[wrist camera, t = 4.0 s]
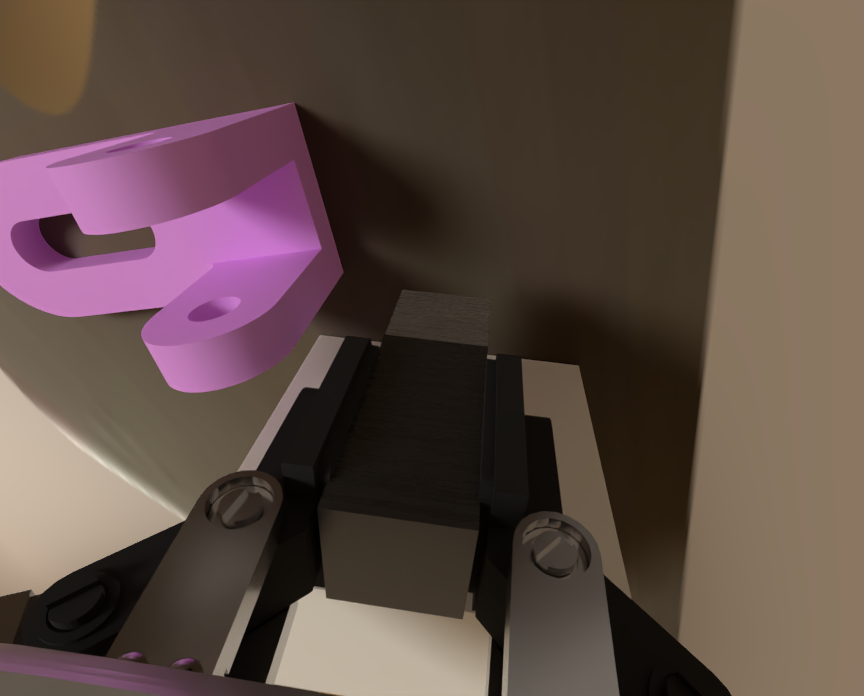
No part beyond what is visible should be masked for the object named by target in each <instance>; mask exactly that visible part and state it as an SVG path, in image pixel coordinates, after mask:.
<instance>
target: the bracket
mask: <svg viewBox="0 0 864 696" xmlns="http://www.w3.org/2000/svg"><path fill="white" fill-rule="evenodd" d="M69 213H72V215H73V217H74V218H75V220H76V222H77V224H78V225H79V227H80V229H81V231H82V232H83V233H84V234H88V235H101V234H111V233H118V232H124V231H130V230H134V229H139V228H144V227H148V226H151V228H152V230H153V232H154V235H155V240H156V246H155V247H152V248H145V249H138V250H131V251H124V252H117V253H110V254H103V255H96V256H89V257H82V258H69V257H66V256H63V255H61V254H60V253H58V252H56V251H55V250H54V249H53V248H51V247H50V246H49V245H48V243H47V242H46V241H45V239H44V238H43V236H42V234H41V232H40V228H39V219H40V218H45V217H51V216H57V215H63V214H69ZM343 273H344V272H343V269H342V265H341V262H340V258H339V255H338V251H337V248H336V244H335V241H334V238H333V234H332V231H331V227H330V224H329V220H328V217H327V213H326V210H325V207H324V203H323V200H322V196H321V193H320V189H319V186H318V183H317V179H316V176H315V172H314V169H313V165H312V162H311V158H310V155H309V152H308V148H307V145H306V141H305V138H304V134H303V131H302V127H301V124H300V121H299V117H298V114H297V110H296V107H295V103H289V104H284V105H279V106H274V107H269V108H264V109H259V110H254V111H249V112H244V113H239V114H233V115H228V116H223V117H218V118H213V119H208V120H203V121H198V122H193V123H188V124H182V125H177V126H172V127H167V128H162V129H157V130H152V131H147V132H142V133H137V134H132V135H126V136H121V137H116V138H111V139H106V140H101V141H96V142H91V143H86V144H81V145H75V146H70V147H65V148H60V149H55V150H50V151H45V152H40V153H35V154H30V155H25V156H19V157H15V158H12V159H8V160H4V161H0V285H1V286H2V287H3V288H4V289H5V290H7V291H8V292H9V293H11V294H12V295H14V296H15V297H17V298H18V299H20V300H22V301H23V302H25V303H27V304H29V305H31V306H33V307H35V308H37V309H40V310H42V311H45V312H48V313H51V314H55V315H59V316H66V317H81V316H90V315H99V314H108V313H116V312H125V311H134V310H142V309H151V308H160V307H164V308H163V309H161V310H160V311H159V312H158V313H157V314H155V315H154V316H153V317H152V318H151V319H150V320H149V321H148V322H147V323H146V324H145V326H144V327H143V329H142V332H141V336H142V339H143V341H144V342H145V344H146V346H147V348H148V350H149V351H150V353H151V355H152V357H153V358H154V360H155V362H156V364H157V365H158V367H159V369H160V371H161V373H162V374H163V376H164V378H165V380H166V381H167V383H168V385H169V386H171V387H172V388H174V389H176V390H178V391H183V392H207V391H213V390H218V389H223V388H226V387H230V386H233V385H236V384H239V383H242V382H244V381H247V380H249V379H251V378H253V377H255V376H258V375H260V374H261V373H263V372H265V371H267V370H268V369H270V368H272V367H273V366H275V365H276V364H277V363H279V362H280V361H281V360H283V359H284V358H285V357H286V356H287V355H288V354H289V353H290V352H291V351H292V350H293V348H294V347H295V345H296V344H297V342H298V341H299V339H300V338H301V336H302V335H303V333H304V332H305V330H306V329H307V327H308V326H309V324H310V323H311V321H312V320H313V318H314V317H315V315H316V314H317V312H318V311H319V309H320V307H321V306H322V304H323V303H324V301H325V300H326V298H327V297H328V295H329V294H330V292H331V291H332V289H333V288H334V286H335V285H336V283H337V282H338V280H339V279H340V277H341V276H342V274H343Z"/></svg>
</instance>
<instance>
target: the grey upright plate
mask: <svg viewBox="0 0 864 696" xmlns="http://www.w3.org/2000/svg"><path fill="white" fill-rule="evenodd" d="M489 311H490V299H485V298H476V297H467V296H458V295H449V294H440V293H431V292H422V291H413V290H404V289H402V292H401V294H400V297H399V300H398V302H397V305H396V307H395V310H394V312H393V315H392V317H391V320H390V323H389V325H388V328H387V330H386V333H385V335H384V338H383V340H382V343H381V346H380V348H379V349H380V352H379V354H378V357H377V360H376V362H375V365H374V367H373V370H372V372H371V375H370V378H369V380H368V383H367V385H366V388H365V391H364V393H363V396H362V398H361V401H360V404H359V406H358V409H357V411H356V414H355V417H354V419H353V422H352V424H351V427H350V429H349V432H348V435H347V437H346V440H345V442H344V445H343V448H342V450H341V453H340V455H339V458H338V461H337V463H336V466H335V468H334V471H333V474H332V476H331V479H330V481H327V484H326V486H325V489H324V491H323V494H322V497H321V499H320V502H319V504H318V507H317V512H318V522H319V532H320V542H321V552H322V562H323V572H324V582H325V592H326V598H328V599H334V600H340V601H347V602H353V603H360V604H366V605H373V606H379V607H386V608H392V609H398V610H405V611H411V612H418V613H424V614H431V615H437V616H443V617H450V618H456V619H463V616H464V611H465V605H466V599H467V594H468V588H469V583H470V577H471V571H472V566H473V560H474V555H475V549H476V544H477V538H478V532H479V516H480V502H479V483H480V464H481V446H482V427H483V409H484V390H485V371H486V361H487V352H488V332H489Z"/></svg>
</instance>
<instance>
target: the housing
mask: <svg viewBox="0 0 864 696" xmlns="http://www.w3.org/2000/svg"><path fill="white" fill-rule="evenodd" d="M344 339H345V338H342V337H333V336H325V335H320V336H319V337H318V339H317V341H316V342H315V344H314V346H313V347H312V349H311V351H310V352H309V354H308V356H307V357H306V359H305V361H304V362H303V364H302V366H301V367H300V369H299V371H298V372H297V374H296V375H295V377H294V379H293V380H292V382H291V384H290V385H289V387H288V389H287V390H286V392H285V394H284V395H283V397H282V399H281V400H280V402H279V404H278V405H277V407H276V409H275V410H274V412H273V414H272V415H271V417H270V419H269V420H268V422H267V423H266V425H265V427H264V428H263V430H262V432H261V433H260V435H259V437H258V438H257V440H256V442H255V443H254V445H253V447H252V448H251V450H250V452H249V453H248V455H247V457H246V458H245V460H244V462H243V463H242V465H241V467H240V468H239V470H238V471H237V472H239V471H243V470H256V469H257V467H258V466H259V464H260V462H261V460H262V459H263V457H264V455H265V453H266V451H267V450H268V448H269V446H270V444H271V443H272V441H273V439H274V437H275V435H276V434H277V432H278V430H279V428H280V427H281V425H282V423H283V421H284V419H285V418H286V416H287V414H288V412H289V411H290V409H291V407H292V405H293V404H294V402H295V400H296V398H297V396H298V395H299V393H300V392H301V390H302V389H303V388H305V387H310V388H318V389H319V387H320V385H321V383H322V381H323V379H324V377H325V376H326V374H327V372H328V370H329V368H330V366H331V364H332V362H333V360H334V358H335V356H336V354H337V352H338V350H339V348H340V346H341V345H342V343H343V341H344ZM381 343H382V342H376V341H372V345H376V346H379V348H380V346H381ZM487 359H493V360H496V356H494V355H487ZM522 376H523V395H524V413H525V415H531V416H539V417H547V418H550V419H551V422H552V429H553V437H554V445H555V453H556V461H557V469H558V478H559V486H560V494H561V502H562V510H563V515H567V516H569V517H571V518H573V519H574V520H576V521H578V522H580V523H581V524H582V525H583V526H584V527H585V528H586V529H587V530H588V531H589V532H590V533H591V534H592V536H593V537H594V539H595V540H596V542H597V544H598V547H599V550H600V554H601V559H602V567H603V574H604V575H605V576H606V577H607V578H608V579H609V580H610V581H612V582H613V583H614V584H615V585H616V586H617V587H618V588H619V589H620V590H622V591H623V592H624V593H625V594H626V595H627V596H628V597H629V598H630V599H631V594H630V590H629V586H628V581H627V577H626V572H625V568H624V563H623V559H622V555H621V550H620V546H619V541H618V537H617V533H616V528H615V524H614V519H613V515H612V510H611V506H610V502H609V497H608V493H607V488H606V484H605V480H604V475H603V471H602V466H601V462H600V457H599V453H598V449H597V444H596V440H595V435H594V431H593V427H592V422H591V418H590V413H589V409H588V404H587V400H586V396H585V391H584V387H583V382H582V378H581V373H580V369H579V365H570V364H562V363H553V362H545V361H536V360H528V359H522ZM472 597H473V593H469V592H468V594H467V599H466V605H465V611H464V616H463V619H456V618H450V617H443V616H437V615H431V614H424V613H418V612H411V611H405V610H398V609H392V608H386V607H379V606H373V605H366V604H360V603H353V602H347V601H340V600H334V599H328V598H326V592H325V588H322V587H316V586H314V588H313V591H312V592H311V593H309V594H308V595H306V596H304V597H303V598H301V599H299V600H298V607H297V611H296V614H295V617H294V621H293V624H292V627H291V630H290V634H289V637H288V640H287V643H286V647H285V650H284V653H283V656H282V660H281V663H280V666H279V669H278V673H277V676H276V679H275V683H274V684H278V685H284V686H290V687H296V688H301V689H307V690H313V691H319V692H325V693H331V694H337V695H343V696H485V686H486V672H487V658H488V644H489V636H490V634H489V633H488V632H487V631H486V629H485V628H484V627H483V626H482V624H481V623H480V622H479V621H478V620H477V618H476V617H475V611H472ZM631 600H632V599H631Z"/></svg>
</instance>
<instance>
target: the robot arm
mask: <svg viewBox="0 0 864 696" xmlns="http://www.w3.org/2000/svg"><path fill="white" fill-rule="evenodd" d="M379 352H380V349H379V346H376V345H372V341H371V339H370V338H361V337H353V336H346V337H345V339H344V341H343V343H342V345H341V346H340V348H339V350H338V352H337V354H336V356H335V358H334V360H333V362H332V364H331V366H330V368H329V370H328V372H327V374H326V376H325V377H324V379H323V381H322V383H321V385H320V387H319V389H318V388H310V387H305V388H303V389H302V390H301V392H300V393H299V395H298V396H297V398H296V400H295V402H294V404H293V405H292V407H291V409H290V411H289V412H288V414H287V416H286V418H285V419H284V421H283V423H282V425H281V427H280V428H279V430H278V432H277V434H276V435H275V437H274V439H273V441H272V443H271V444H270V446H269V448H268V450H267V451H266V453H265V455H264V457H263V459H262V460H261V462H260V464H259V466H258V467H257V469H256V470H243V471H239V472H234V473H230V474H228V475H226V476H224V477H222V478H219V479H217V480H216V481H215V482H213V483H212V484H211V485H209V486H208V487H207V488H206V489H205V490H204V492H203V493H202V494H201V495H200V497H199V498H198V500H197V502H196V503H195V505H194V507H193V508H192V510H191V512H190V513H189V515H188V517H187V519H186V520H185V521H183V522H181V523H179V524H177V525H175V526H173V527H170V528H168V529H166V530H164V531H162V532H159V533H157V534H155V535H153V536H151V537H149V538H146V539H144V540H142V541H140V542H138V543H135V544H133V545H131V546H129V547H127V548H125V549H122V550H120V551H118V552H116V553H114V554H111V555H110V556H107V557H105V558H103V559H101V560H98V561H96V562H94V563H92V564H90V565H88V566H85V567H83V568H81V569H79V570H77V571H75V572H73V573H71V574H69V575H67V576H66V577H64V578H62V579H60V580H58V581H57V582H56V583H54V584H53V585H52V586H51V587H50V588H48V589H47V590H46V591H45V592H44V593H42V594H40V595H35V594H34V593H33V591H32V590H27V591H23V592H19V593H15V594H10V595H6V596H1V597H0V696H336V695H331V694H325V693H318V692H313V691H307V690H301V689H295V688H289V687H283V686H277V685H274V683H275V679H276V676H277V673H278V669H279V666H280V663H281V660H282V656H283V653H284V650H285V647H286V643H287V640H288V637H289V634H290V630H291V627H292V624H293V621H294V617H295V614H296V611H297V607H298V600H299V599H301V598H303V597H304V596H306V595H308V594H309V593H311V592H312V591H313V588H314V586H316V587H322V588H325V582H324V572H323V562H322V552H321V542H320V532H319V522H318V512H317V507H318V504H319V502H320V499H321V497H322V494H323V491H324V489H325V486H326V484H327V481H330V479H331V476H332V474H333V471H334V468H335V466H336V463H337V461H338V458H339V455H340V453H341V450H342V448H343V445H344V442H345V440H346V437H347V435H348V432H349V429H350V427H351V424H352V422H353V419H354V417H355V414H356V411H357V409H358V406H359V404H360V401H361V398H362V396H363V393H364V391H365V388H366V385H367V383H368V380H369V378H370V375H371V372H372V370H373V367H374V365H375V362H376V360H377V357H378V354H379ZM479 502H480V516H479V532H478V538H477V544H476V549H475V555H474V560H473V566H472V571H471V577H470V583H469V588H468V592H469V593H473V597H472V611H475V617H476V618H477V620H478V621H479V622H480V623H481V624H482V626H483V627H484V628H485V629H486V631H487V632H488V633H489V634H490V636H489V644H488V658H487V672H486V686H485V696H731V694H730V692H729V691H728V689H727V688H726V687H725V686H724V685H723V684H722V682H720V680H719V679H718V678H717V677H716V676H715V675H714V674H713V673H712V672H711V671H710V670H709V669H708V668H707V667H706V666H704V665H703V664H702V663H701V662H700V661H699V660H698V659H697V658H696V657H694V656H693V655H692V654H691V653H690V652H689V651H688V650H687V649H686V648H684V647H683V646H682V645H681V644H680V643H679V642H678V641H677V640H676V639H675V638H674V637H672V636H671V635H670V634H669V633H668V632H667V631H666V630H665V629H664V628H662V627H661V626H660V625H659V624H658V623H657V622H656V621H655V620H654V619H652V618H651V617H650V616H649V615H648V614H647V613H646V612H645V611H644V610H643V609H641V608H640V607H639V606H638V605H637V604H636V603H635V602H634V601H633V600H631V599H630V598H629V597H628V596H627V595H626V594H625V593H624V592H623V591H622V590H620V589H619V588H618V587H617V586H616V585H615V584H614V583H613V582H612V581H610V580H609V579H608V578H607V577H606V576H605V575H604V574H603V567H602V559H601V554H600V550H599V547H598V544H597V542H596V540H595V539H594V537H593V536H592V534H591V533H590V532H589V531H588V530H587V529H586V528H585V527H584V526H583V525H582V524H581V523H580V522H578V521H576V520H574V519H573V518H571V517H569V516H567V515H563V510H562V502H561V494H560V486H559V478H558V469H557V461H556V453H555V445H554V437H553V429H552V422H551V419H550V418H547V417H539V416H531V415H525V413H524V395H523V376H522V359H521V356H513V355H505V354H497V355H496V360H493V359H487V361H486V371H485V390H484V409H483V427H482V446H481V464H480V483H479Z"/></svg>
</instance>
